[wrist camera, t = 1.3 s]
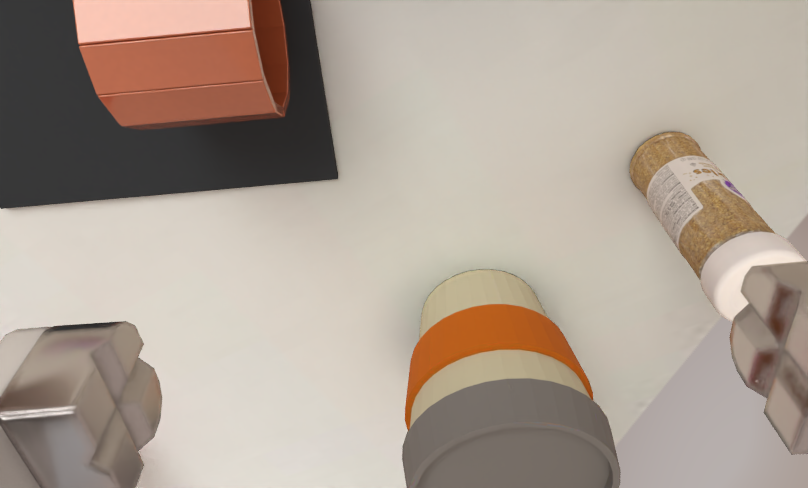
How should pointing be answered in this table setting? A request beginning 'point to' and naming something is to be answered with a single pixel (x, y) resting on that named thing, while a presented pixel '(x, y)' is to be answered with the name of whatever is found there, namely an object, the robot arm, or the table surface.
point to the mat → (140, 149)
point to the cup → (185, 60)
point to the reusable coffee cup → (500, 395)
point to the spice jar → (706, 218)
